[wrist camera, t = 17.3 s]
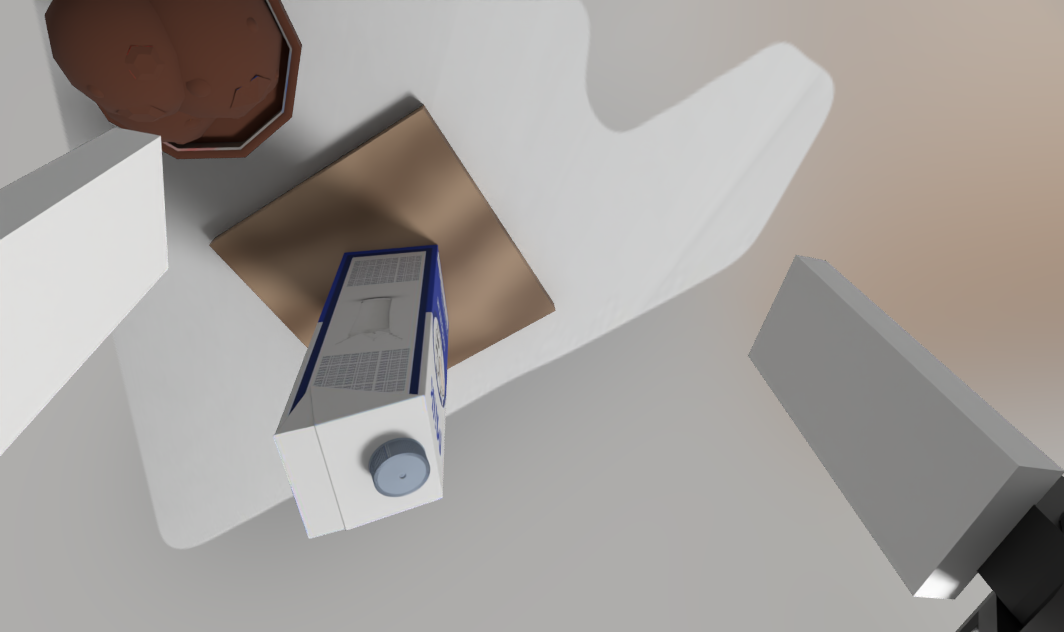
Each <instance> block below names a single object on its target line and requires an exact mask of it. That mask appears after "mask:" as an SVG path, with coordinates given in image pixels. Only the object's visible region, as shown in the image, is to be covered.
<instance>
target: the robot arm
mask: <svg viewBox="0 0 1064 632" xmlns="http://www.w3.org/2000/svg"><path fill="white" fill-rule="evenodd" d="M167 270H168V253H167V235H166V218H165V200H164V182H163V165H162V147H161V136H159V135H154V134H149V133H143V132H138V131H133V130H127V129H122V128H117V127H115V128H113V129H111V130H109V131H107V132H105V133H103V134H102V135H100V136H98V137H96V138H94V139H92V140H90V141H89V142H87V143H85V144H83V145H81V146H79V147H77V148H76V149H74V150H72V151H70V152H68V153H66V154H65V155H63V156H61V157H59V158H57V159H55V160H53V161H51V162H50V163H48V164H46V165H44V166H42V167H41V168H38V169H37V170H35V171H33V172H31V173H29V174H27V175H25V176H24V177H22V178H20V179H18V180H17V181H14V182H13V183H10V184H9V185H7V186H5V187H3V188H1V189H0V456H1V455H2V453H3V452H4V451H5V450H6V449H7V448H8V447H9V446H10V445H11V443H12V442H13V441H14V440H15V439H16V438H17V436H19V435H20V433H21V432H22V431H23V430H24V429H25V428H26V427H27V426H28V425H29V423H30V422H31V421H32V420H33V419H34V418H35V417H36V416H37V415H38V413H39V412H40V411H41V410H42V409H43V408H44V407H45V406H46V405H47V403H48V402H49V401H50V400H51V399H52V398H53V397H54V395H55V394H56V393H57V392H58V391H59V390H60V389H61V388H62V386H64V384H65V383H66V382H67V381H68V380H69V379H70V378H71V377H72V376H73V374H74V373H75V372H76V371H77V370H78V369H79V368H80V367H81V365H82V364H83V363H84V362H85V361H86V360H87V359H88V358H89V357H90V355H91V354H92V353H93V352H94V351H95V350H96V349H97V348H98V347H99V345H100V344H101V343H102V342H103V341H104V340H105V339H106V338H107V336H108V335H109V334H110V333H111V332H112V331H113V330H114V329H115V328H116V326H117V325H118V324H119V323H120V322H121V321H122V320H123V319H124V318H125V316H126V315H127V314H128V313H129V312H130V311H131V310H132V309H133V307H134V306H135V305H136V304H137V303H138V302H139V301H140V300H141V299H142V297H143V296H144V295H145V294H146V293H147V292H148V291H149V290H150V288H151V287H152V286H153V285H154V284H155V283H156V282H157V281H158V280H159V278H160V277H161V276H162V275H163V274H164V273H165V272H166V271H167ZM748 356H749V358H750V359H751V361H752V362H753V364H754V365H755V367H757V369H758V371H759V372H760V374H761V375H762V377H763V378H764V380H765V381H766V382H767V384H768V385H769V387H770V388H771V390H772V391H773V393H774V394H775V395H776V397H777V398H778V400H779V401H780V403H781V404H782V406H783V407H784V409H785V410H786V412H787V413H788V414H789V416H790V417H791V419H792V420H793V422H794V423H795V425H796V426H797V427H798V429H799V431H800V432H801V434H802V435H803V436H804V438H805V439H806V441H807V442H808V444H809V445H810V447H811V448H812V450H813V451H814V452H815V454H816V455H817V457H818V458H819V460H820V461H821V463H822V464H823V466H824V467H825V468H826V470H827V471H828V473H829V474H830V476H831V477H832V479H833V480H834V482H835V483H836V485H837V486H838V487H839V489H840V490H841V492H842V493H843V495H844V496H845V498H846V499H847V501H848V502H849V503H850V505H851V506H852V508H853V509H854V511H855V512H856V514H857V515H858V517H859V518H860V519H861V521H862V522H863V524H864V525H865V527H866V528H867V530H868V531H869V533H870V534H871V536H872V537H873V538H874V540H875V541H876V543H877V544H878V546H879V547H880V549H881V550H882V551H883V553H884V554H885V556H886V557H887V559H888V560H889V562H890V563H891V565H892V566H893V567H894V569H895V571H896V572H897V573H898V575H899V576H900V578H901V579H902V581H903V582H904V584H905V585H906V587H907V588H908V589H909V591H910V592H911V594H912V595H913V596H915V597H929V598H943V599H955V598H956V597H957V596H958V595H959V594H960V593H961V591H962V590H963V589H964V588H965V587H966V586H967V585H968V583H969V582H970V581H971V580H972V579H973V578H974V576H975V575H976V574H977V573H979V574H980V575H981V576H982V578H983V579H984V580H985V581H986V583H987V584H988V585H989V586H990V587H991V589H992V590H993V591H992V592H991V593H990V594H989V595H988V596H987V597H986V598H985V600H984V601H983V602H982V603H981V604H980V605H979V606H978V608H977V609H976V610H975V611H974V612H973V613H972V614H971V615H970V616H969V617H968V619H967V620H966V621H965V622H964V623H963V624H962V625H961V626H960V627H959V629H958V630H957V631H956V632H1064V477H1063V476H1062V474H1063V473H1064V470H1063V469H1062V468H1061V467H1059V466H1058V465H1057V464H1056V463H1055V462H1054V461H1052V460H1051V459H1050V458H1049V457H1048V456H1047V455H1046V454H1045V453H1044V452H1042V451H1041V450H1040V449H1039V448H1038V447H1037V446H1036V445H1034V444H1033V443H1032V442H1031V441H1030V440H1029V439H1028V438H1027V437H1025V436H1024V435H1023V434H1022V433H1021V432H1020V431H1019V430H1017V429H1016V428H1015V427H1014V426H1013V425H1012V424H1011V423H1009V422H1008V421H1007V420H1006V419H1005V418H1004V417H1003V416H1002V415H1000V414H999V413H998V412H997V411H996V410H995V409H994V408H992V407H991V406H990V405H989V404H988V403H987V402H986V401H985V400H983V399H982V398H981V397H980V396H979V395H978V394H977V393H976V392H974V391H973V390H972V389H971V388H970V387H969V386H968V385H966V384H965V383H964V382H963V381H962V380H961V379H959V378H958V377H957V376H956V375H955V374H954V373H953V372H952V371H951V370H949V369H948V368H947V367H946V366H945V365H944V364H943V363H941V362H940V361H939V360H938V359H937V358H936V357H935V356H934V355H932V354H931V353H930V352H929V351H928V350H927V349H926V348H924V347H923V346H922V345H921V344H920V343H919V342H918V341H917V340H915V339H914V338H913V337H912V336H911V335H910V334H909V333H908V332H906V331H905V330H904V329H903V328H902V327H901V326H900V325H898V324H897V323H896V322H895V321H894V320H893V319H892V318H891V317H889V316H888V315H887V314H886V313H885V312H884V311H883V310H881V309H880V308H879V307H878V306H877V305H876V304H875V303H874V302H872V301H871V300H870V299H869V298H868V297H867V296H866V295H864V294H863V293H862V292H861V291H860V290H859V289H857V288H856V287H855V286H854V285H853V284H852V283H851V282H850V281H849V280H847V279H846V278H845V277H844V276H843V275H842V274H841V273H839V272H838V271H837V270H836V269H835V268H834V267H833V266H832V265H830V264H829V263H828V262H827V261H826V260H820V259H814V258H810V257H804V256H799V255H796V256H795V258H794V260H793V262H792V264H791V267H790V269H789V271H788V273H787V275H786V277H785V279H784V281H783V283H782V285H781V287H780V289H779V292H778V294H777V296H776V298H775V300H774V302H773V304H772V306H771V308H770V311H769V313H768V315H767V317H766V319H765V321H764V323H763V325H762V328H761V329H760V332H759V334H758V336H757V338H756V340H755V342H754V344H753V346H752V349H751V351H750V352H749V355H748Z"/></svg>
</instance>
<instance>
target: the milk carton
mask: <svg viewBox="0 0 1064 632" xmlns="http://www.w3.org/2000/svg"><path fill="white" fill-rule="evenodd" d="M448 331H449V321H448V314H447V306H446V299H445V292H444V285H443V278H442V271H441V264H440V257H439V250H438V245H426V246H415V247H403V248H392V249H380V250H369V251H357V252H346V253H344V255H343V257H342V260H341V262H340V265H339V268H338V270H337V273H336V276H335V278H334V281H333V283H332V286H331V289H330V291H329V294H328V297H327V299H326V302H325V304H324V307H323V310H322V312H321V315H320V318H319V320H318V323H317V325H316V328H315V331H314V333H313V336H312V339H311V341H310V344H309V347H308V349H307V352H306V354H305V357H304V360H303V362H302V365H301V368H300V370H299V373H298V375H297V378H296V381H295V383H294V386H293V389H292V391H291V394H290V396H289V399H288V402H287V404H286V407H285V410H284V412H283V415H282V417H281V420H280V423H279V425H278V428H277V431H276V433H275V435H274V436H273V437H274V440H275V443H276V446H277V449H278V452H279V455H280V458H281V460H282V463H283V466H284V469H285V472H286V475H287V478H288V481H289V483H290V486H291V489H292V492H293V495H294V498H295V500H296V503H297V506H298V509H299V512H300V515H301V518H302V521H303V524H304V527H305V529H306V532H307V534H308V538H314V537H317V536H321V535H325V534H328V533H332V532H336V531H340V530H343V529H345V530H349V529H352V528H355V527H358V526H361V525H364V524H367V523H370V522H373V521H376V520H379V519H382V518H385V517H388V516H391V515H394V514H397V513H400V512H403V511H406V510H409V509H412V508H415V507H418V506H420V505H424V504H427V503H430V502H432V501H436V500H439V499H442V498H443V496H442V491H443V465H444V438H445V436H444V435H445V411H446V384H447V358H448Z"/></svg>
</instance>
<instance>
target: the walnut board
mask: <svg viewBox="0 0 1064 632" xmlns="http://www.w3.org/2000/svg"><path fill="white" fill-rule="evenodd" d="M426 245H438V250H439V257H440V264H441V271H442V278H443V285H444V292H445V299H446V306H447V314H448V321H449V331H448V358H447V369H449V368H450V367H452V366H454V365H456V364H458V363H460V362H461V361H463V360H465V359H467V358H469V357H471V356H473V355H474V354H476V353H478V352H480V351H482V350H484V349H486V348H487V347H489V346H491V345H493V344H495V343H497V342H498V341H500V340H502V339H504V338H506V337H508V336H510V335H511V334H513V333H515V332H517V331H519V330H521V329H522V328H524V327H526V326H528V325H530V324H532V323H534V322H535V321H537V320H539V319H541V318H543V317H545V316H546V315H548V314H550V313H552V312H554V311H555V307H554V303H553V301H552V300H551V298H550V297H549V295H548V294H547V292H546V291H545V289H544V288H543V286H542V285H541V283H540V282H539V280H538V278H537V277H536V275H535V274H534V272H533V271H532V269H531V268H530V266H529V265H528V263H527V262H526V260H525V259H524V257H523V256H522V254H521V253H520V251H519V249H518V248H517V246H516V245H515V243H514V242H513V240H512V239H511V237H510V236H509V234H508V233H507V231H506V230H505V228H504V227H503V225H502V224H501V222H500V220H499V219H498V217H497V216H496V214H495V213H494V211H493V210H492V208H491V207H490V205H489V204H488V202H487V201H486V199H485V198H484V196H483V195H482V193H481V191H480V190H479V188H478V187H477V185H476V184H475V182H474V181H473V179H472V178H471V176H470V175H469V173H468V172H467V170H466V169H465V167H464V166H463V164H462V162H461V161H460V159H459V158H458V156H457V155H456V153H455V152H454V150H453V149H452V147H451V146H450V144H449V143H448V141H447V140H446V138H445V137H444V135H443V133H442V132H441V130H440V129H439V127H438V126H437V124H436V123H435V121H434V120H433V118H432V117H431V115H430V114H429V112H428V111H427V109H426V108H425V106H424V105H423V106H421V107H420V108H418V109H416V110H415V111H413V112H412V113H410V114H409V115H407V116H405V117H404V118H402V119H401V120H399V121H398V122H396V123H394V124H393V125H391V126H390V127H388V128H387V129H385V130H384V131H382V132H380V133H379V134H377V135H376V136H374V137H373V138H371V139H369V140H368V141H366V142H365V143H363V144H362V145H360V146H358V147H357V148H355V149H354V150H352V151H351V152H349V153H347V154H346V155H344V156H343V157H341V158H340V159H338V160H337V161H335V162H333V163H332V164H330V165H329V166H327V167H326V168H324V169H322V170H321V171H319V172H318V173H316V174H315V175H313V176H311V177H310V178H308V179H307V180H305V181H304V182H302V183H301V184H299V185H297V186H296V187H294V188H293V189H291V190H290V191H288V192H286V193H285V194H283V195H282V196H280V197H279V198H277V199H275V200H274V201H272V202H271V203H269V204H268V205H266V206H265V207H263V208H261V209H260V210H258V211H257V212H255V213H254V214H252V215H250V216H249V217H247V218H246V219H244V220H243V221H241V222H239V223H238V224H236V225H235V226H233V227H232V228H230V229H229V230H227V231H225V232H224V233H222V234H221V235H219V236H218V237H216V238H215V239H214V240H213V241H212V242H211V243H210V245H209V246H210V247H211V248H212V249H213V250H214V251H215V252H216V253H217V254H218V255H219V256H220V257H221V258H222V259H223V260H224V261H225V262H226V263H227V264H228V265H229V266H230V268H231V269H232V270H233V271H234V272H235V273H236V274H237V275H238V276H239V277H240V278H241V279H242V280H243V281H244V282H245V283H246V284H247V285H248V286H249V287H250V288H251V289H252V291H253V292H254V293H255V294H256V295H257V296H258V297H259V298H260V299H261V300H262V301H263V302H264V303H265V304H266V305H267V306H268V307H269V308H270V309H271V310H272V311H273V312H274V314H275V315H276V316H277V317H278V318H279V319H280V320H281V321H282V322H283V323H284V324H285V325H286V326H287V327H288V328H289V329H290V330H291V331H292V332H293V333H294V334H295V335H296V336H297V338H298V339H299V340H300V341H301V342H302V343H303V344H304V345H305V346H306V347H307V348H308V347H309V344H310V341H311V339H312V336H313V333H314V331H315V328H316V325H317V323H318V320H319V318H320V315H321V312H322V310H323V307H324V304H325V302H326V299H327V297H328V294H329V291H330V289H331V286H332V283H333V281H334V278H335V276H336V273H337V270H338V268H339V265H340V262H341V260H342V257H343V255H344V253H346V252H357V251H369V250H380V249H392V248H403V247H415V246H426Z"/></svg>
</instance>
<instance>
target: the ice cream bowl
mask: <svg viewBox="0 0 1064 632" xmlns="http://www.w3.org/2000/svg"><path fill="white" fill-rule="evenodd" d="M45 20H46V25H47V30H48V35H49V40H50V44H51V49H52V54H53V58H54V59H55V61H56V62H57V64H58V65H59V67H60V68H61V70H62V71H63V72H64V74H65V75H66V77H67V78H68V80H69V81H70V83H71V84H72V85H73V86H74V87H76V88H77V89H78V90H80V91H81V92H82V93H84V94H85V95H86V96H88V97H89V98H91V99H92V100H93V101H95V102H96V103H97V105H98V106H99V108H100V109H101V111H102V112H103V114H104V115H105V117H106V118H107V120H108V121H109V122H111V123H113V124H115V125H117V126H118V127H120V128H122V129H127V130H133V131H138V132H143V133H149V134H154V135H159V136H161V147H162V151H164V152H165V153H167V154H169V155H171V156H173V157H174V158H176V159H201V158H242V157H246V156H247V155H249V154H250V153H251V152H252V151H253V150H254V149H256V148H257V147H258V146H259V145H260V144H261V143H263V142H264V141H265V140H266V139H267V138H268V137H270V136H271V135H272V134H273V133H274V132H275V131H276V130H278V129H279V128H280V127H281V126H282V125H283V124H285V123H286V122H287V121H288V120H289V119H290V118H292V113H293V106H294V98H295V91H296V84H297V77H298V69H299V62H300V55H301V48H302V44H301V42H300V40H299V38H298V36H297V33H296V31H295V29H294V27H293V25H292V23H291V21H290V19H289V17H288V15H287V13H286V11H285V9H284V6H283V4H282V2H281V0H53V1H52V2H51V4H50V6H49V8H48V10H47V12H46V13H45Z"/></svg>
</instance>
